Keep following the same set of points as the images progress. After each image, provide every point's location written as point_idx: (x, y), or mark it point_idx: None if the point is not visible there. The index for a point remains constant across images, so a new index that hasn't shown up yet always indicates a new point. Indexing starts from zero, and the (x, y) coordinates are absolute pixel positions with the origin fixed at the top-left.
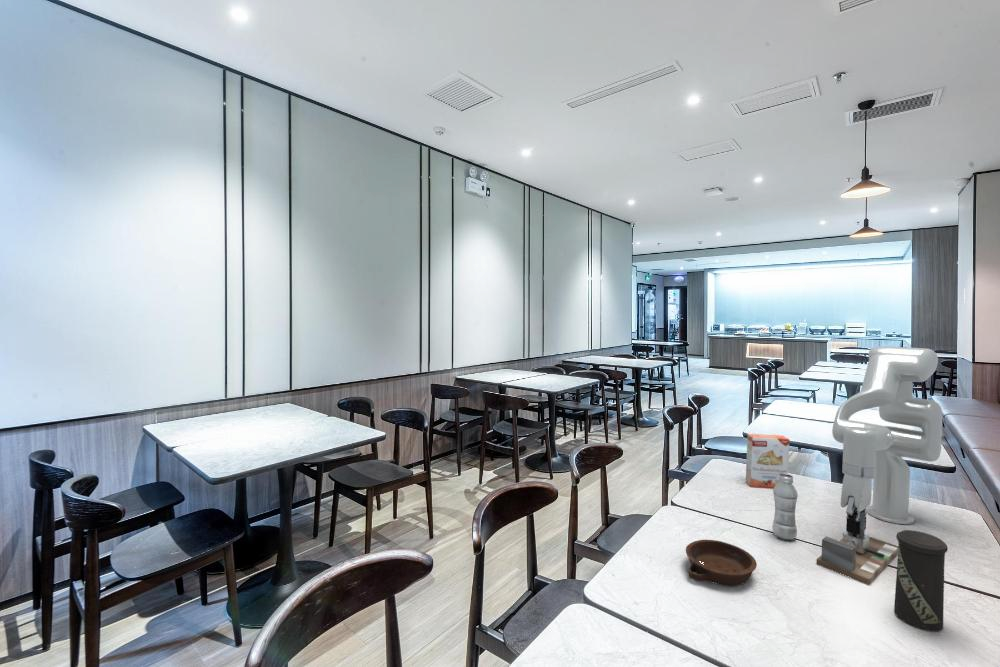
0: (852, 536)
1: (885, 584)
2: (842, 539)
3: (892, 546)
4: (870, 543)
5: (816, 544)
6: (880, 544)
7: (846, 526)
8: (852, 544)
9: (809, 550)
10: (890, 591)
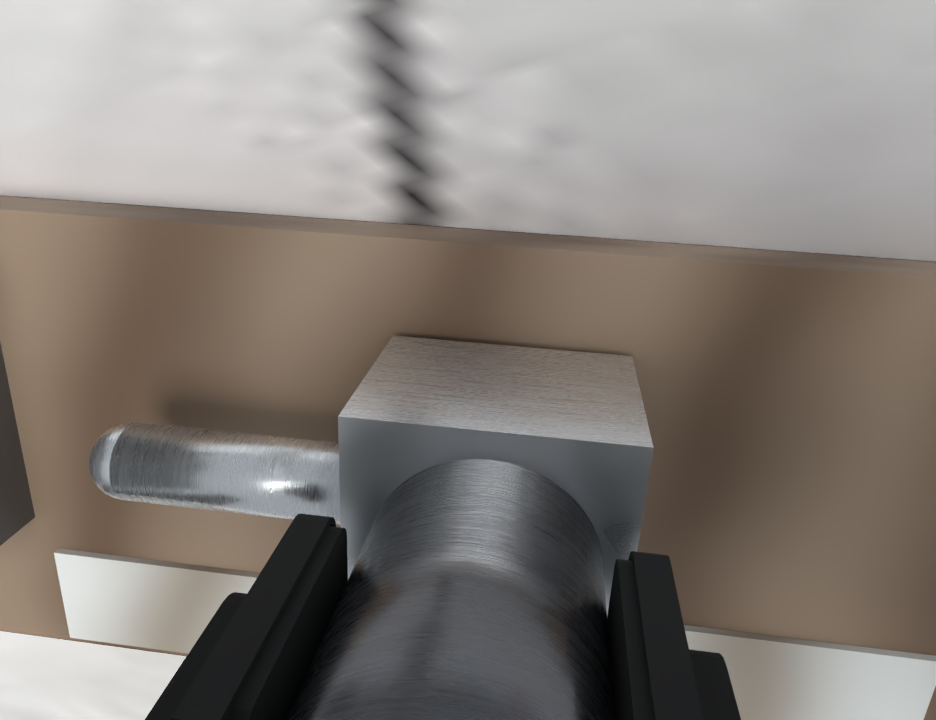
0: (358, 539)
1: (117, 666)
2: (369, 375)
3: (918, 715)
4: (840, 539)
5: (391, 12)
6: (898, 619)
7: (269, 560)
8: (266, 514)
9: (130, 10)
10: (44, 695)
